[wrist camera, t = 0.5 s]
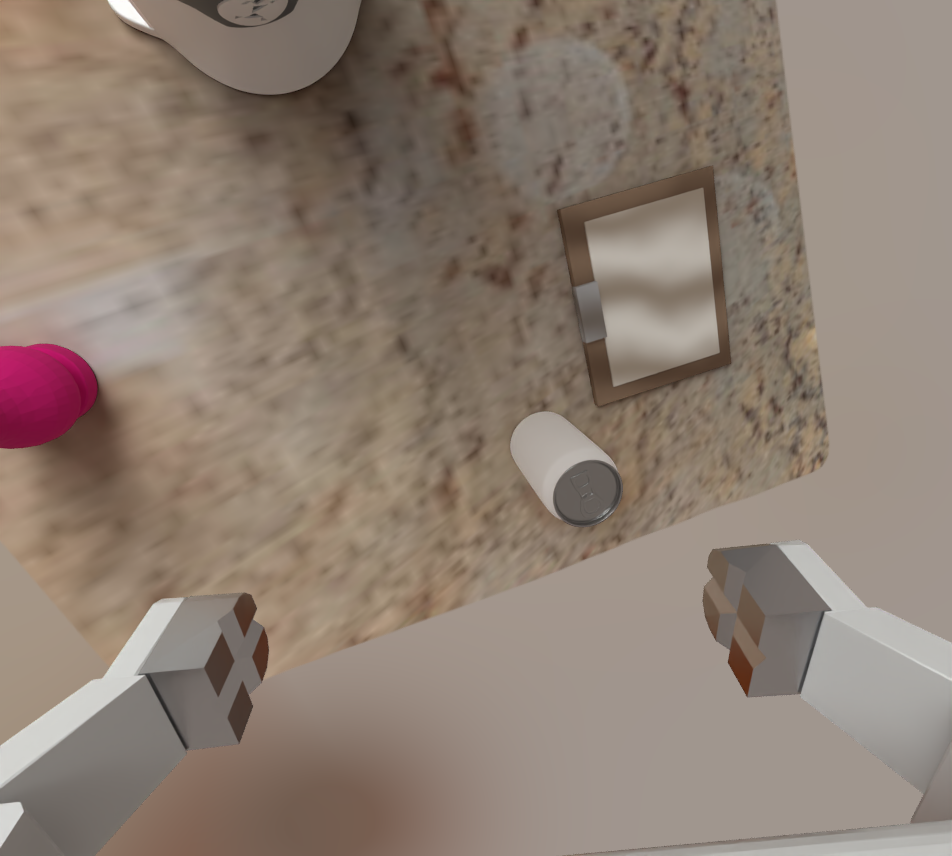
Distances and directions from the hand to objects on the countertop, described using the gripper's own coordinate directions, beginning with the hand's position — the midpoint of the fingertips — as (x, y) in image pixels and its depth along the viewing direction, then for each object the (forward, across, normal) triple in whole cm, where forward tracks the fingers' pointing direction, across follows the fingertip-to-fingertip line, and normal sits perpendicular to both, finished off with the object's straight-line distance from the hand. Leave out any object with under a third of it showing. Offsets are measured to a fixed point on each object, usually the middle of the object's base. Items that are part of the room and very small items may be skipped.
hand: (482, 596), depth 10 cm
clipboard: (+41, -17, +5) cm, 45 cm away
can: (+38, -6, +18) cm, 43 cm away
